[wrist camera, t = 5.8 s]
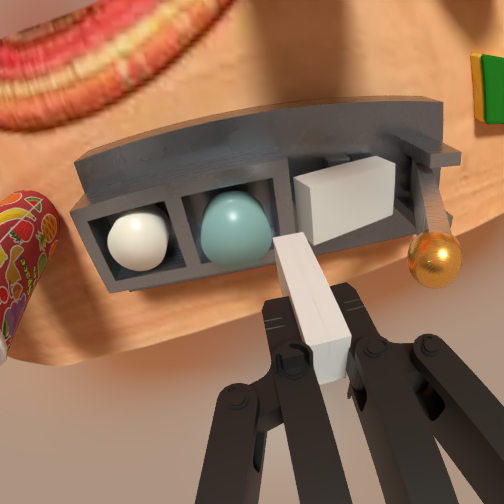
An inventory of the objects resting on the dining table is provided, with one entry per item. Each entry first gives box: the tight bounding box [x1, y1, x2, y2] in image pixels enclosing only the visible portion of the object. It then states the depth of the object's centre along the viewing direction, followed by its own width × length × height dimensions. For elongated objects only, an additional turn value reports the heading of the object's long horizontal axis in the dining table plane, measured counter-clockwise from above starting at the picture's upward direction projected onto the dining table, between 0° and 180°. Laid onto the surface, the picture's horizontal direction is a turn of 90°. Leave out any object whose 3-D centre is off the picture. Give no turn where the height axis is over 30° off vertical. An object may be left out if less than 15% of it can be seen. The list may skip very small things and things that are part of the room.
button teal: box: [201, 191, 272, 269], centre depth 18 cm, size 4×4×2 cm
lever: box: [407, 158, 463, 289], centre depth 17 cm, size 3×3×13 cm
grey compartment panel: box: [70, 96, 461, 293], centre depth 21 cm, size 28×12×7 cm, turn 99°
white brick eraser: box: [293, 156, 395, 245], centre depth 19 cm, size 7×4×2 cm, turn 100°
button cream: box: [108, 204, 170, 271], centre depth 20 cm, size 4×4×2 cm
